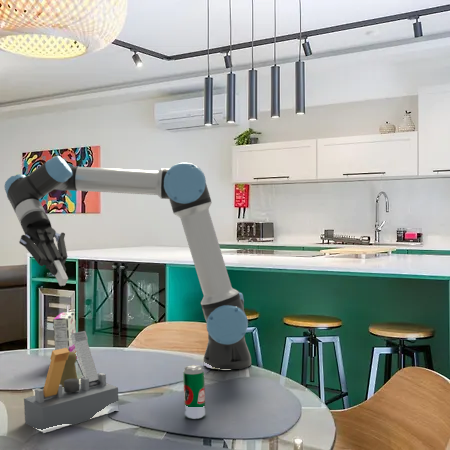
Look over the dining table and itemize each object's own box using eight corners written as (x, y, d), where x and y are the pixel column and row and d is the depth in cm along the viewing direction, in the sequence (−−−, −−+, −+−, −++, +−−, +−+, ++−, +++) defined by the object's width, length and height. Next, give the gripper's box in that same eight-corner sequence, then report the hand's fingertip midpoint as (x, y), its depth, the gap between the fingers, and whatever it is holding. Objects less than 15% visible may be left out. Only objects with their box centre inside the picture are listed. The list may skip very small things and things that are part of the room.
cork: (73, 386, 170) (72, 348, 170) (83, 390, 165) (81, 352, 165) (53, 391, 166) (52, 352, 166) (63, 395, 162) (61, 356, 161)
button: (61, 390, 145) (61, 380, 145) (74, 387, 147) (74, 377, 147) (68, 393, 142) (68, 383, 142) (82, 390, 144) (81, 380, 144)
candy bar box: (62, 360, 201) (60, 312, 200) (77, 359, 201) (75, 311, 200) (54, 369, 189) (52, 318, 189) (70, 368, 190) (68, 317, 189)
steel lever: (86, 388, 148) (70, 335, 153) (99, 385, 150) (82, 333, 155) (88, 386, 147) (72, 333, 152) (101, 383, 149) (85, 330, 154)
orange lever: (40, 396, 140) (52, 350, 134) (54, 393, 142) (66, 347, 137) (42, 401, 139) (55, 354, 133) (56, 397, 142) (69, 351, 136)
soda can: (203, 420, 139) (201, 370, 139) (182, 420, 140) (180, 370, 140) (207, 413, 144) (206, 364, 144) (187, 412, 145) (186, 364, 145)
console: (25, 423, 142) (23, 386, 141) (98, 402, 155) (96, 369, 155) (43, 433, 134) (42, 395, 134) (118, 411, 148) (117, 376, 148)
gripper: (51, 227, 172) (81, 288, 161) (7, 229, 164) (36, 294, 152) (58, 208, 168) (90, 270, 157) (14, 210, 160) (44, 275, 148)
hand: (64, 282), depth 154 cm, fingers closed
